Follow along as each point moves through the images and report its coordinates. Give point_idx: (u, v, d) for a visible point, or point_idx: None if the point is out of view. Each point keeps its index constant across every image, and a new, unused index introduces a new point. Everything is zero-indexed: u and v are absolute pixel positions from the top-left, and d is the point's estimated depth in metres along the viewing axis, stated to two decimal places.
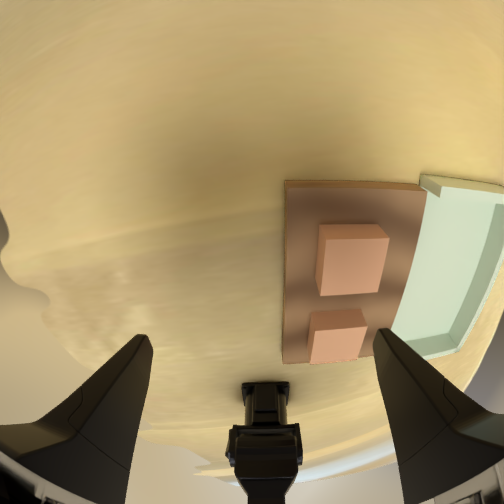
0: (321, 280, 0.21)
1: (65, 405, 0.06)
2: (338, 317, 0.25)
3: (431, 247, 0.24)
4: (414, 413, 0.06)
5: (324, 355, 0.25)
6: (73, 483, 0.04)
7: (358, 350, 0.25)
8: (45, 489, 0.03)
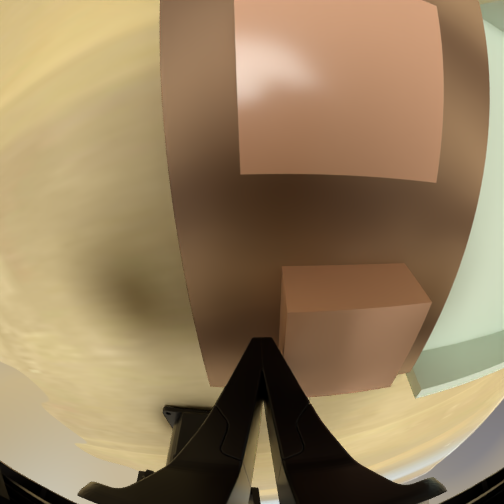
0: None
1: (206, 433, 0.06)
2: (355, 280, 0.09)
3: None
4: (271, 435, 0.07)
5: (316, 380, 0.10)
6: None
7: (398, 366, 0.09)
8: None
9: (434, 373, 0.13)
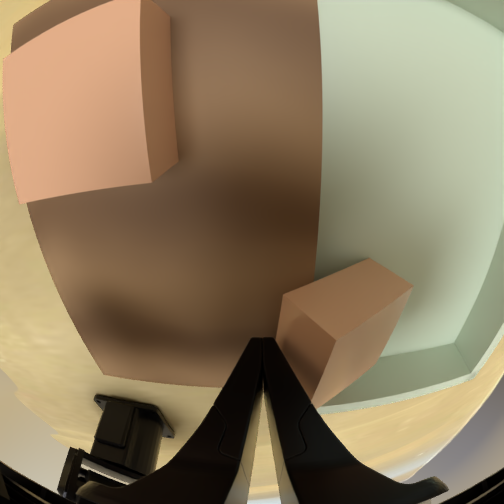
0: None
1: (204, 433, 0.06)
2: (352, 286, 0.10)
3: (390, 111, 0.09)
4: (273, 435, 0.07)
5: (334, 386, 0.10)
6: None
7: (385, 345, 0.12)
8: None
9: None
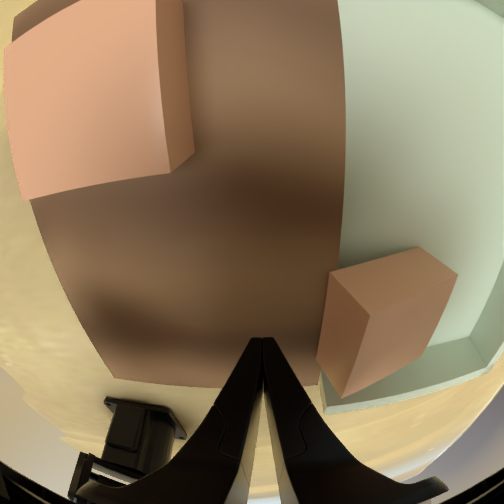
0: None
1: (204, 433, 0.06)
2: (396, 270, 0.09)
3: (409, 102, 0.08)
4: (273, 435, 0.07)
5: (374, 370, 0.10)
6: None
7: (430, 336, 0.10)
8: None
9: None
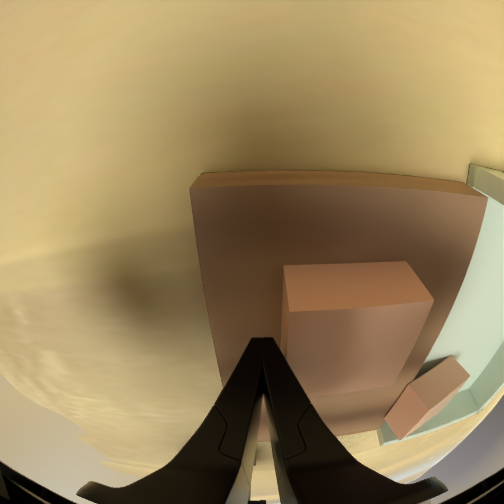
0: None
1: (205, 433, 0.06)
2: (439, 378, 0.14)
3: (473, 291, 0.13)
4: (273, 435, 0.07)
5: (419, 425, 0.14)
6: None
7: (448, 401, 0.15)
8: None
9: None
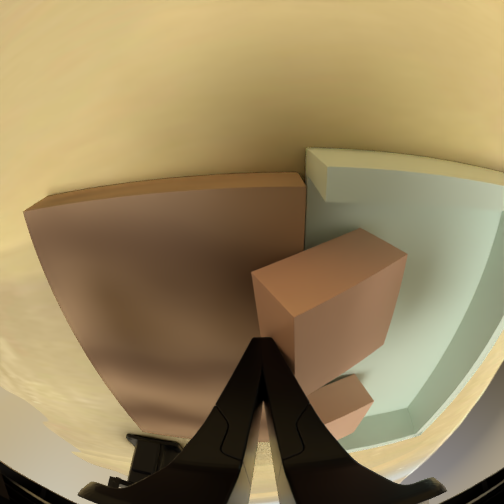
0: None
1: (206, 433, 0.06)
2: (328, 399, 0.15)
3: None
4: (271, 435, 0.07)
5: None
6: None
7: (357, 425, 0.16)
8: None
9: None
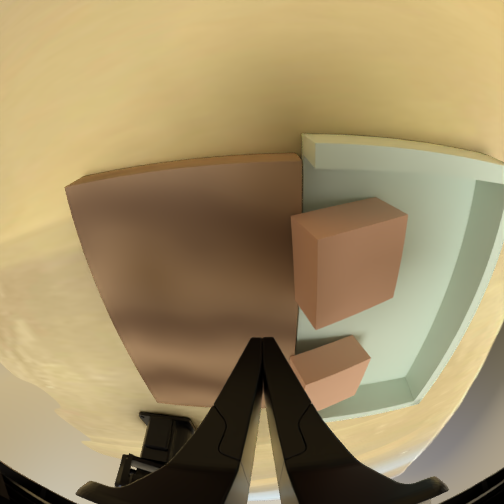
0: (314, 307, 0.12)
1: (204, 433, 0.06)
2: (329, 355, 0.17)
3: None
4: (273, 435, 0.07)
5: (317, 404, 0.18)
6: None
7: (357, 385, 0.18)
8: None
9: None
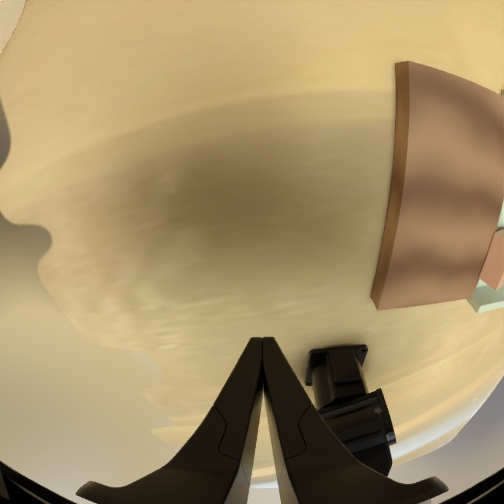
0: None
1: (204, 433, 0.06)
2: None
3: None
4: (274, 435, 0.07)
5: None
6: None
7: None
8: None
9: (484, 298, 0.21)
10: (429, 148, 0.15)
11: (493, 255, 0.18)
